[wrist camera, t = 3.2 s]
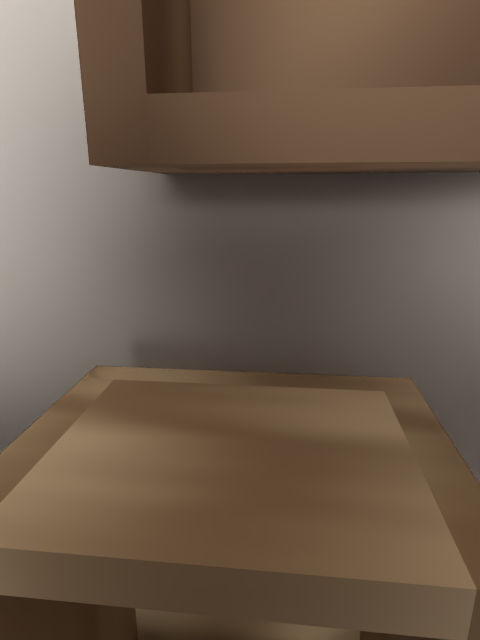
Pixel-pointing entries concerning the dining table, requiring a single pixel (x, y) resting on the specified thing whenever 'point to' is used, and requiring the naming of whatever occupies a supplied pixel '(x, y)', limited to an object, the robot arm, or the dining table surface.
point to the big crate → (281, 85)
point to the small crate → (238, 512)
